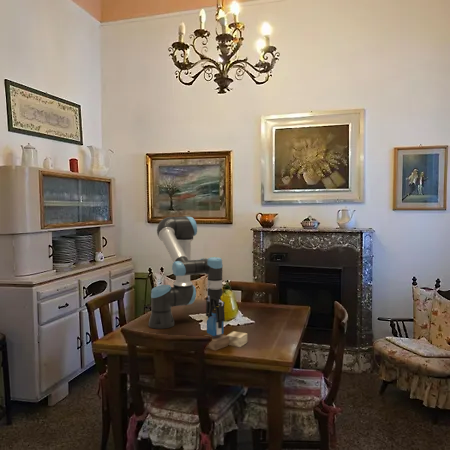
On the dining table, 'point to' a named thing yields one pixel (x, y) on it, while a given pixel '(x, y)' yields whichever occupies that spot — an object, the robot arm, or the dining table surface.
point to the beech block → (237, 339)
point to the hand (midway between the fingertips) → (215, 332)
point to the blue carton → (213, 324)
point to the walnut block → (218, 341)
